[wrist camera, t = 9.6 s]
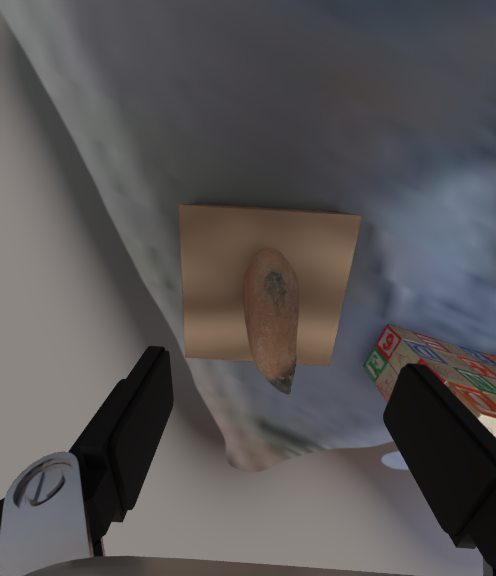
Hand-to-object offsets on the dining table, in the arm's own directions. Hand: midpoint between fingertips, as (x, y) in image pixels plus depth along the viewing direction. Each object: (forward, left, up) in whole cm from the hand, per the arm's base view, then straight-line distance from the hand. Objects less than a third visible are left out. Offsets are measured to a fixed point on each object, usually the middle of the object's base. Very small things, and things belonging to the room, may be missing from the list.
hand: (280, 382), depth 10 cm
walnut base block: (+1, 0, -16) cm, 16 cm away
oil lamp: (+1, 0, -12) cm, 11 cm away
